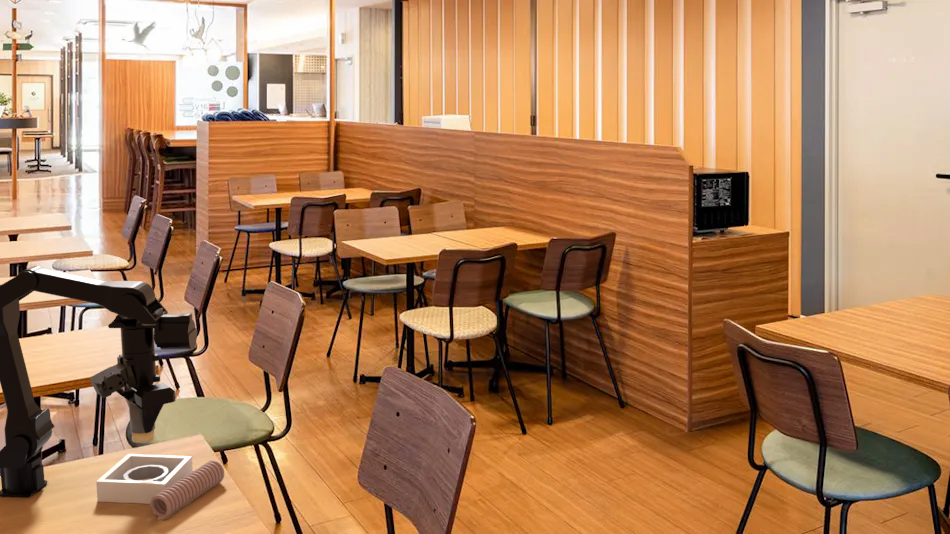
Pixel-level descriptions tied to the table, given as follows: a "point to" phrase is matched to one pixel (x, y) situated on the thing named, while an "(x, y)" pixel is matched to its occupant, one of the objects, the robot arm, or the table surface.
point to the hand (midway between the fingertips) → (143, 428)
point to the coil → (186, 490)
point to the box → (141, 477)
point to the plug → (138, 425)
